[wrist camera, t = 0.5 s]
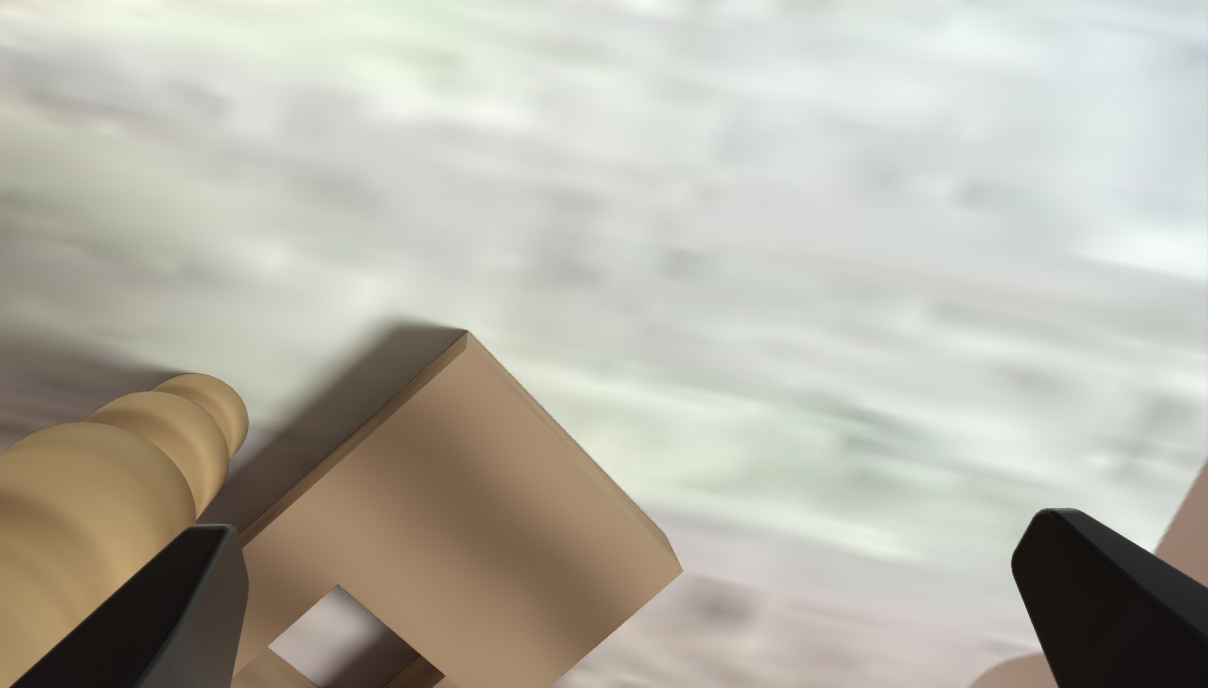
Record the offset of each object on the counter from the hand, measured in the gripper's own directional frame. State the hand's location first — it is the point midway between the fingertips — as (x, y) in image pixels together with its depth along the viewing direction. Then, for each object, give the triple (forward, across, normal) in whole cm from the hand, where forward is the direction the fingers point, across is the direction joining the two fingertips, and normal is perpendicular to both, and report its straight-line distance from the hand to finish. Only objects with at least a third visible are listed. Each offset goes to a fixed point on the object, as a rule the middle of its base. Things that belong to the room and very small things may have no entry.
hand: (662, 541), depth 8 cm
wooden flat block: (+11, +6, +17) cm, 21 cm away
